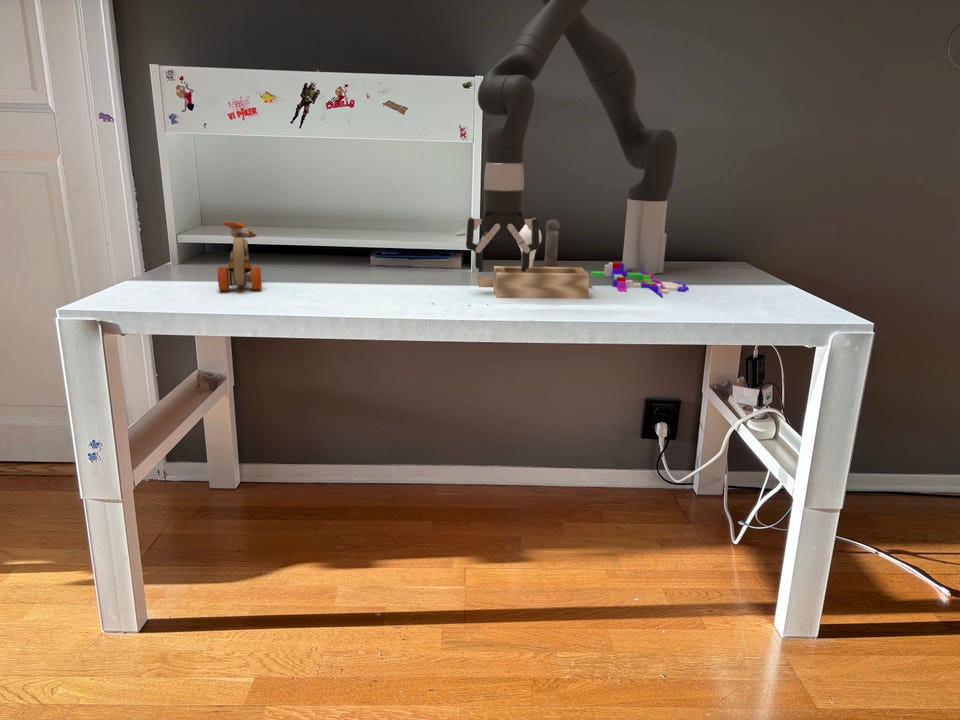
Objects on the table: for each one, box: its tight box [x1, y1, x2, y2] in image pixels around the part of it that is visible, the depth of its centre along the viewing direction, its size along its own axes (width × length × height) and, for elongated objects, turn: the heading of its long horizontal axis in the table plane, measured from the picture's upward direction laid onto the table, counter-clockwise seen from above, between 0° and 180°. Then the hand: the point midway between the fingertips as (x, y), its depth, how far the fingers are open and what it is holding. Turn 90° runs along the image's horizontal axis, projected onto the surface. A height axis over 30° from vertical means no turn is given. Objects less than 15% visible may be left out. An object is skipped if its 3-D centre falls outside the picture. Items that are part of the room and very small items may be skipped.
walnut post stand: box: [476, 219, 595, 290], centre depth 150 cm, size 24×11×14 cm, turn 93°
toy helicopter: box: [217, 221, 263, 292], centre depth 147 cm, size 8×21×14 cm, turn 16°
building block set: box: [590, 261, 690, 299], centre depth 156 cm, size 25×20×4 cm
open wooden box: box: [492, 265, 590, 300], centre depth 140 cm, size 18×9×5 cm, turn 93°
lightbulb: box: [516, 225, 543, 267], centre depth 169 cm, size 6×6×11 cm
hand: (501, 271), depth 139 cm, fingers open, 8 cm apart
